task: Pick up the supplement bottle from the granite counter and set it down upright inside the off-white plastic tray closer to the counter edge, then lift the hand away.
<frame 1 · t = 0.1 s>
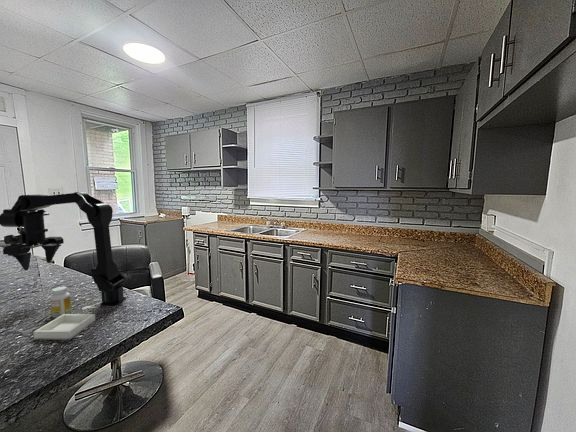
hand: (38, 266, 99), 15 cm above the kitchen island, fingers open, 9 cm apart
tray: (66, 329, 82), on the kitchen island
supplement bottle: (61, 314, 91), on the kitchen island
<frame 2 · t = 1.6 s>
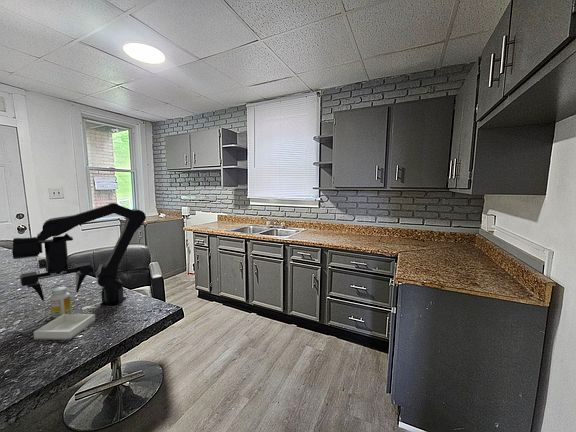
hand: (60, 296, 91), 7 cm above the kitchen island, fingers open, 9 cm apart
nothing on the kitchen island moved.
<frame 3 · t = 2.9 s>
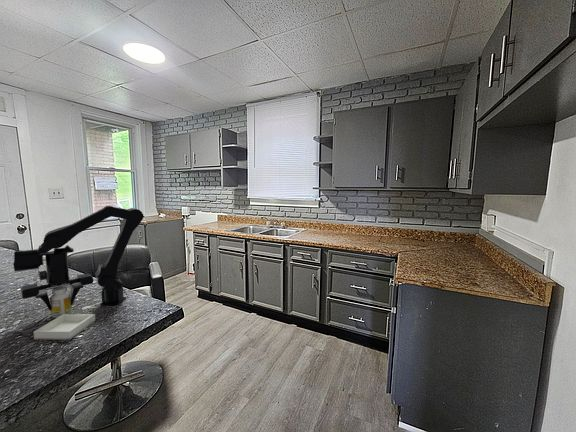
hand: (61, 307, 91), 3 cm above the kitchen island, fingers closed on supplement bottle, 5 cm apart
supplement bottle: (61, 314, 91), on the kitchen island, touching gripper
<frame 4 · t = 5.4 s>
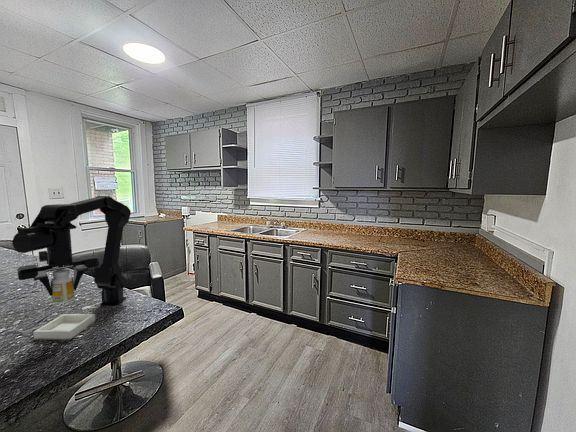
hand: (63, 292, 80), 13 cm above the kitchen island, fingers closed on supplement bottle, 5 cm apart
supplement bottle: (63, 300, 81), point 10 cm above the kitchen island, touching gripper
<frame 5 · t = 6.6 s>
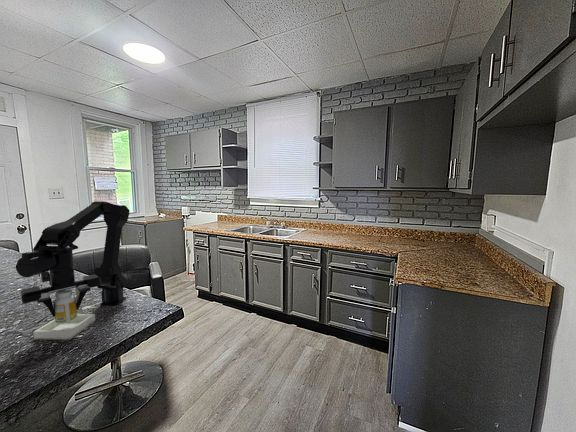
hand: (65, 312, 81), 6 cm above the kitchen island, fingers closed on supplement bottle, 5 cm apart
supplement bottle: (66, 320, 82), point 3 cm above the kitchen island, touching gripper
when the fingers open (4 cm above the kitchen island, at t = 7.7 s): supplement bottle drops 1 cm, resting on tray.
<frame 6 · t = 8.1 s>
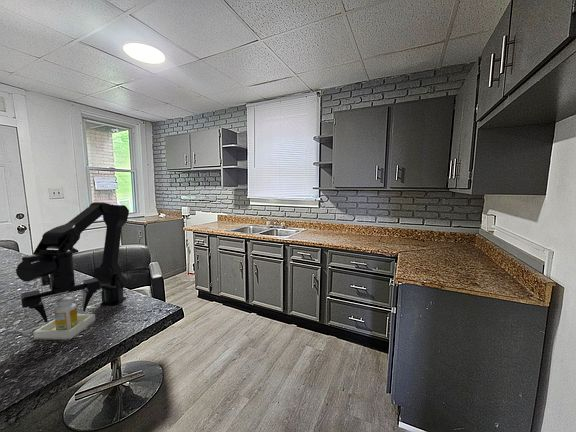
hand: (65, 316, 81), 4 cm above the kitchen island, fingers open, 9 cm apart
supplement bottle: (67, 328, 82), resting on tray
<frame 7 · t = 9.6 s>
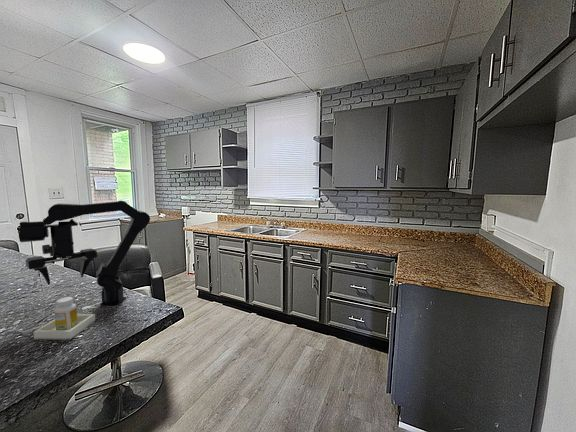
hand: (65, 280, 92), 12 cm above the kitchen island, fingers open, 9 cm apart
nothing on the kitchen island moved.
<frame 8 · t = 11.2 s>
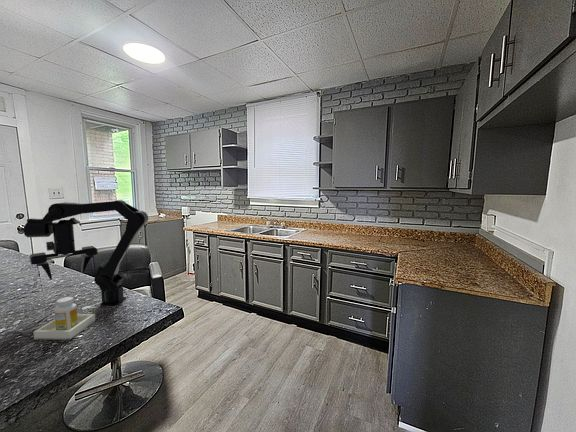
hand: (67, 276, 96), 12 cm above the kitchen island, fingers open, 9 cm apart
nothing on the kitchen island moved.
at the end: supplement bottle 0.1 cm off-centre on the tray, point 0.3 cm above the tray's base; supplement bottle tilted 0°; the gripper is holding nothing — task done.
